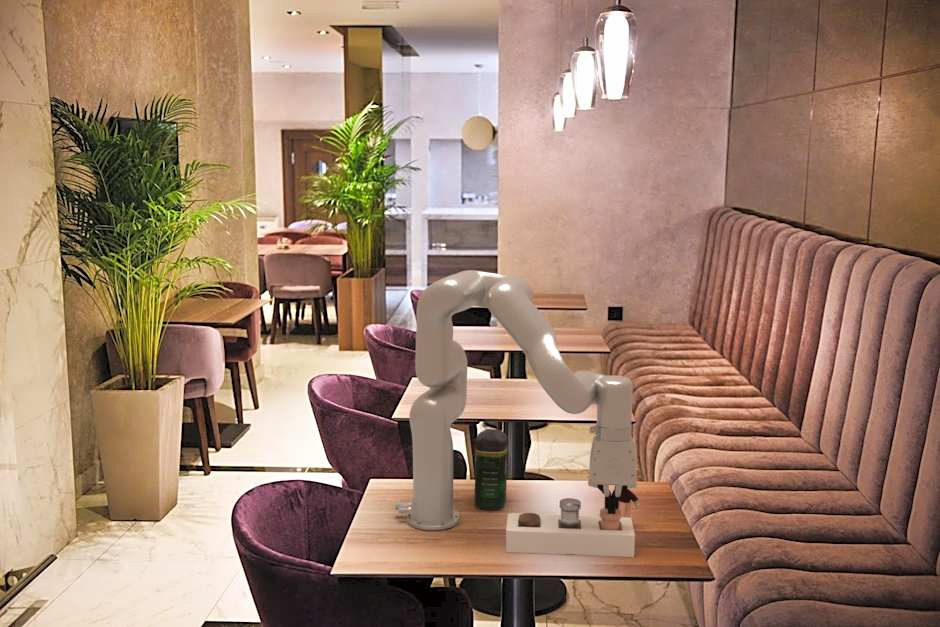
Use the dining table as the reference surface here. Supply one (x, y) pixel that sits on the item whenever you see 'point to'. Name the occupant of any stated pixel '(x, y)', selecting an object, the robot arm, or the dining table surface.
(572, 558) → the dining table surface
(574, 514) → the grey plug
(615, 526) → the terracotta plug
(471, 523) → the dining table surface
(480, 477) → the coffee jar
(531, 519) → the walnut plug
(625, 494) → the grandmother figurine
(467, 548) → the dining table surface
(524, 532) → the socket strip
